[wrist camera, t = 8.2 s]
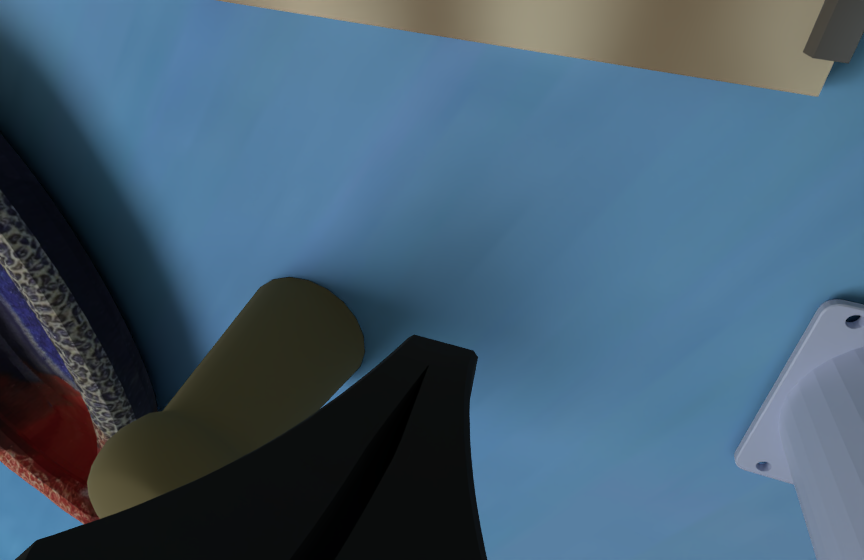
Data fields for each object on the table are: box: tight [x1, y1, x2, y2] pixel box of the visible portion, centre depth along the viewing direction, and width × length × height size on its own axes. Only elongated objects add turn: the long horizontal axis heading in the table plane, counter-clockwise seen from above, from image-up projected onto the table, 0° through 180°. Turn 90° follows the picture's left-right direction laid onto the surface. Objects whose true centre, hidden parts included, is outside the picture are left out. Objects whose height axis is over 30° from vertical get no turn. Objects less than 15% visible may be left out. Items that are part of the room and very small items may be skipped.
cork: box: [87, 277, 365, 519], centre depth 22 cm, size 6×6×11 cm
